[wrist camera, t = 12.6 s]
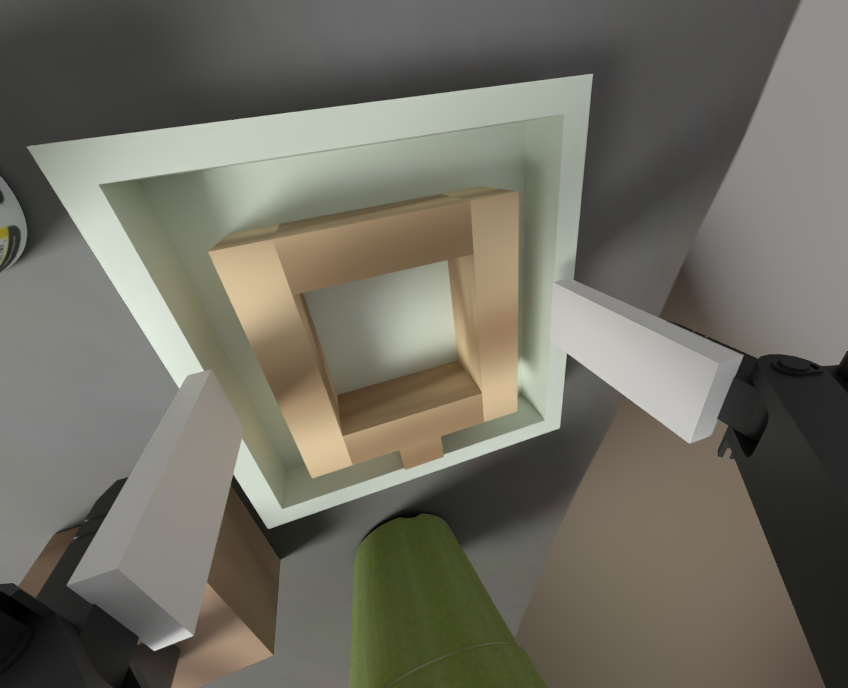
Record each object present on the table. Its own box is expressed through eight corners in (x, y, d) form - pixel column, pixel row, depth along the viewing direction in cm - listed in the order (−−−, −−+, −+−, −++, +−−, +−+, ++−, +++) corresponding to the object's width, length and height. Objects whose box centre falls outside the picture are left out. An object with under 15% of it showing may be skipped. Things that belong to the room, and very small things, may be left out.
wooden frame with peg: (229, 233, 12) (208, 251, 10) (481, 186, 14) (519, 191, 12) (319, 451, 18) (321, 498, 15) (490, 397, 20) (517, 432, 17)
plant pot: (293, 595, 24) (283, 879, 14) (366, 475, 21) (415, 740, 11) (429, 594, 29) (487, 800, 20) (505, 498, 26) (617, 690, 17)
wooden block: (144, 610, 20) (-3, 1008, 11) (53, 534, 16) (-309, 1061, 7) (280, 560, 22) (257, 872, 12) (227, 479, 18) (133, 849, 8)
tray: (273, 479, 19) (268, 529, 16) (93, 150, 11) (26, 146, 8) (530, 397, 22) (559, 428, 19) (540, 90, 14) (592, 73, 11)
